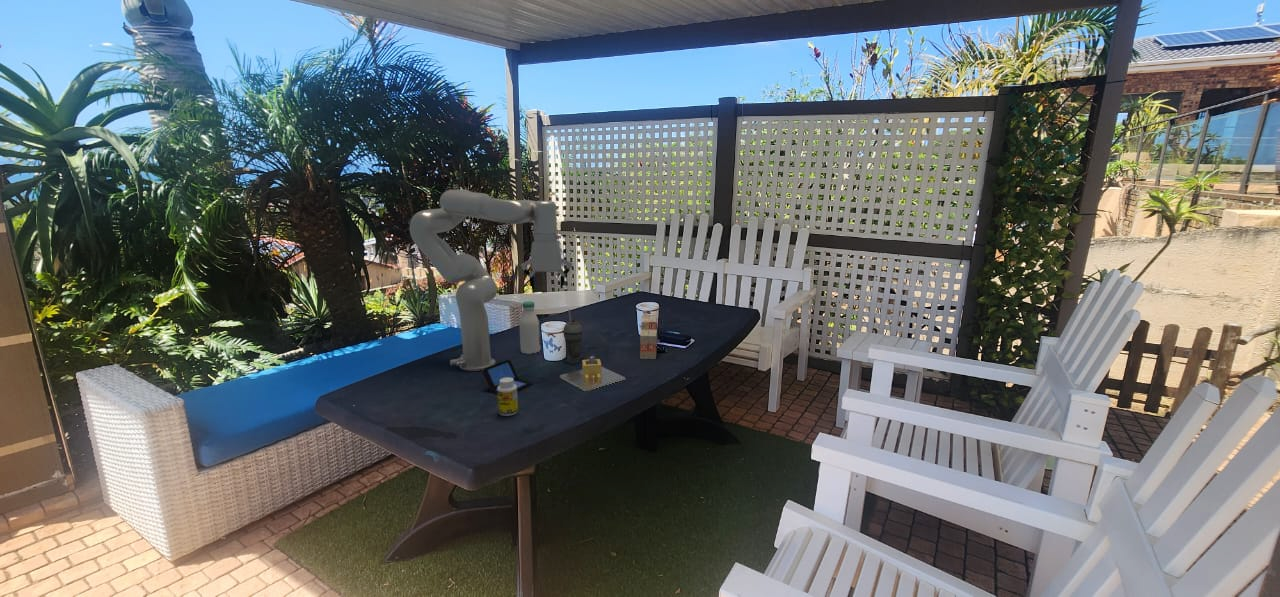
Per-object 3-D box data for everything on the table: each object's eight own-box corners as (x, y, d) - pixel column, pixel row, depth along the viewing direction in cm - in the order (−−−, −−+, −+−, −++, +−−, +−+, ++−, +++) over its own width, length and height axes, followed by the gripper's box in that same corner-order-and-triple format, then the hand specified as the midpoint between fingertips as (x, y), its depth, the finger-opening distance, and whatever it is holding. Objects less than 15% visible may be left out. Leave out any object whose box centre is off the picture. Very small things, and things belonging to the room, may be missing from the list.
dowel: (592, 382, 175) (592, 376, 175) (590, 381, 176) (590, 375, 176) (596, 381, 176) (596, 375, 176) (593, 380, 177) (593, 374, 177)
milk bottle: (538, 354, 207) (536, 304, 203) (518, 354, 207) (515, 304, 203) (542, 348, 215) (540, 300, 211) (523, 348, 215) (520, 300, 211)
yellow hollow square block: (582, 373, 183) (582, 359, 182) (600, 372, 184) (599, 358, 183) (584, 383, 174) (583, 369, 173) (602, 382, 175) (602, 368, 174)
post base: (585, 391, 170) (584, 368, 168) (559, 377, 182) (559, 355, 181) (625, 380, 180) (625, 357, 178) (598, 367, 192) (598, 346, 190)
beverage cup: (582, 364, 196) (580, 311, 191) (562, 364, 196) (560, 311, 192) (584, 358, 203) (583, 307, 199) (565, 357, 203) (563, 307, 199)
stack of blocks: (656, 359, 201) (656, 328, 199) (639, 359, 202) (639, 328, 199) (657, 342, 222) (657, 314, 220) (642, 342, 222) (642, 314, 220)
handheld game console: (507, 398, 166) (505, 375, 165) (482, 391, 172) (481, 369, 170) (534, 385, 177) (533, 363, 175) (510, 379, 182) (509, 358, 181)
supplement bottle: (494, 415, 153) (492, 381, 151) (506, 407, 158) (504, 375, 156) (511, 418, 151) (508, 384, 149) (522, 410, 156) (520, 377, 154)
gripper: (571, 236, 184) (572, 285, 187) (520, 237, 181) (522, 286, 185) (571, 238, 176) (573, 289, 180) (518, 239, 174) (521, 290, 178)
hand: (547, 287), depth 182 cm, fingers open, 9 cm apart
